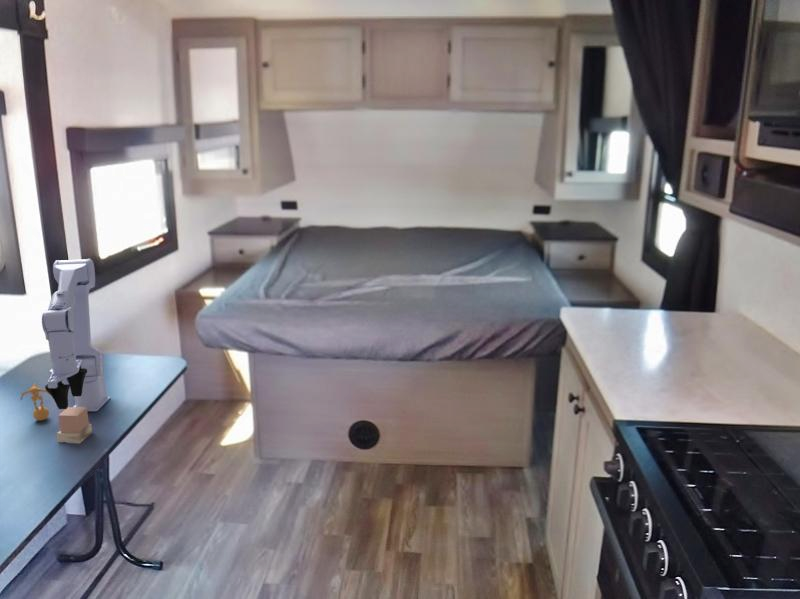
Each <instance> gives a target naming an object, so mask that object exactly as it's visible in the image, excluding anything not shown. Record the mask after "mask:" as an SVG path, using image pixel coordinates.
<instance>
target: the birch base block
mask: <svg viewBox="0 0 800 599" xmlns="http://www.w3.org/2000/svg"><path fill="white" fill-rule="evenodd" d="M92 427H93V426H92V423H89V424H88V425H87V426H86V427H85V428H84V429H83V430H82V431H81V432H80V433H61V429H60V430H59V431H57V432H56V437H57V442H58V443H63V442H66V443H67V444H81V443H83V441H84V440H85V439H87V438H88V437H89V436H90V435H92V434H93V428H92Z"/></svg>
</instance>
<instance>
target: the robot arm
mask: <svg viewBox="0 0 800 599" xmlns="http://www.w3.org/2000/svg"><path fill="white" fill-rule="evenodd" d="M52 265H53V267H52V273H53V277H54V280H55V281H56V283H57V284H58V287H57V291H55V292H53V294H52V295H51V298H50V302H49V306H48V310H46V312H43V313H42V315H41V326H42V330H43V332H44V335H45V340H47V341H48V348H49V354H50V361H51V365H52V368H51V369H50V370H49V371H48V374H50V377H49V379H48V380H47V381H46V382H47V384H46V385H44V387H45V388H44V390H46V391H48V392H49V393H50V394H49V395H50V396H51V397H52V399H53V400H54V403H55V404H56V406H57V409H59V410H65V409H67V408H68V407H69V390H70V393H71V396H72V397H74V401H75V402H74V403H75V405H73V406H72V407H87V412H98V411H99V410H100V409H101V408H102V407H103V406H104V405H105V404H106V403H107V402H108V401H109V400H110V399H111V396H108V392H107V385H106V379H105V377H104V375H103V374H104V370H105V364H104V358H103V352H102V351H101V349H99V348H97V347H96V346H94V345H92V337H91V335H92V334H91V321H90V303H89V301H90V300H89V296H90V295H89V294H90V290H91V289H93V288H95V287H96V272H95V265H94V261H93V260H92V259H91V258H86V259H68V260H67V259H65V260H59V259H58V260H57V259H56V260H55V261H54V263H53V264H52ZM64 380H67V382H68V384H64V383H63V381H64Z"/></svg>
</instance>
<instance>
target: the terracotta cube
mask: <svg viewBox="0 0 800 599" xmlns="http://www.w3.org/2000/svg"><path fill="white" fill-rule="evenodd" d="M58 421H59V426H60V427H59V428H60V430H61V433H80V432H81V431H82V430H83V429H84V428H85V427H86V426H87V425H88V424H90V422H89V421H90V420H89V415H88V411H87V407H73V406H68V408H67V409H63V411H62V412H61V413H59V414H58Z"/></svg>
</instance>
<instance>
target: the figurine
mask: <svg viewBox="0 0 800 599" xmlns="http://www.w3.org/2000/svg"><path fill="white" fill-rule="evenodd" d="M40 392H42V393H47V394H49V395H50V393H49V392H48V391H46V389H42V388H39V387H38V385H37V384H36V383H32V386H31V388H30V389H27V390H25V391H24V392H22V393H21V396H20V398H19V399H20V400H19V401H20V402H22V401H23V397H24V395H26V394H29V393H30V394H31V395H32V396H30V398H31V401H33V405H34V407H35V409H34V410H33V411H32V417H33V418H34V419H35V420H36V421H40V422H42V421H45V420H46V419H48V417H49V416H50V411H49V409H48V408H47V407H46V406H43V404H44V402H43V401H44V398H43V396H42V395H41V394H40ZM37 400H38V401H40V403H39V404H40V405H39V406H38V405H37Z"/></svg>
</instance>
